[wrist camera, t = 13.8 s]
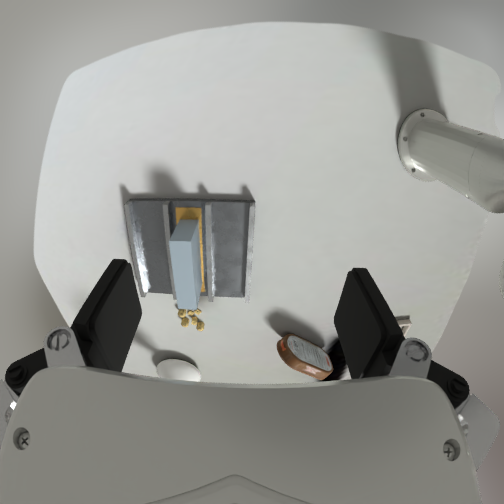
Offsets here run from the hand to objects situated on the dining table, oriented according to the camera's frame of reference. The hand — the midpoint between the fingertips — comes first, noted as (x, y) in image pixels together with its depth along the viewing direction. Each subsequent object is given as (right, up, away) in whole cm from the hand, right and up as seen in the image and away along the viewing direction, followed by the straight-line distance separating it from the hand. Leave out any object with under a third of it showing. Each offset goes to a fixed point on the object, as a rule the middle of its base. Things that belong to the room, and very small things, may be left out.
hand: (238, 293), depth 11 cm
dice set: (-12, -11, +42) cm, 45 cm away
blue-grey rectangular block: (-9, +2, +33) cm, 34 cm away
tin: (+12, -18, +47) cm, 52 cm away
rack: (-9, +2, +34) cm, 35 cm away
